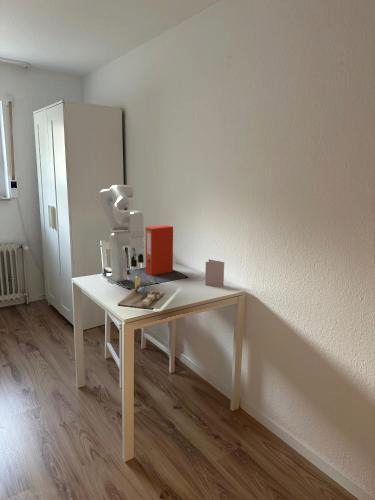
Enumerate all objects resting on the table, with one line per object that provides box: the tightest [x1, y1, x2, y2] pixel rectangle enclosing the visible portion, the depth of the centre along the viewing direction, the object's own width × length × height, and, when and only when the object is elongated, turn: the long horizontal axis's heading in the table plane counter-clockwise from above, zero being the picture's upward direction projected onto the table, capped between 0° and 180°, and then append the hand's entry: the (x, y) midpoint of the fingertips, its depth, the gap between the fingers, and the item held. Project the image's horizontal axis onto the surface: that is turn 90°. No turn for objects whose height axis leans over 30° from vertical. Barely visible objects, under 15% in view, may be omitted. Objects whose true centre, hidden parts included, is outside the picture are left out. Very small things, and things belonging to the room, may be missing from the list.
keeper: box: [137, 285, 147, 294], centre depth 198 cm, size 2×7×4 cm, turn 165°
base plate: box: [117, 289, 166, 311], centre depth 193 cm, size 19×22×2 cm
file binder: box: [145, 224, 174, 276], centre depth 245 cm, size 8×17×32 cm, turn 127°
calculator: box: [102, 266, 131, 275], centre depth 244 cm, size 11×4×15 cm
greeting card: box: [204, 259, 225, 286], centre depth 221 cm, size 11×7×15 cm, turn 54°
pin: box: [134, 275, 141, 293], centre depth 202 cm, size 3×3×9 cm
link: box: [141, 290, 163, 307], centre depth 190 cm, size 18×6×2 cm, turn 165°
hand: (137, 264), depth 199 cm, fingers open, 9 cm apart
